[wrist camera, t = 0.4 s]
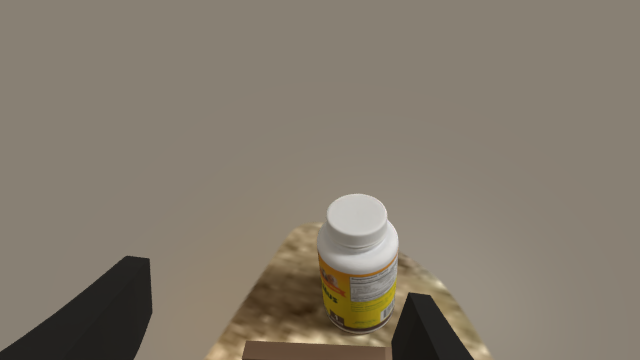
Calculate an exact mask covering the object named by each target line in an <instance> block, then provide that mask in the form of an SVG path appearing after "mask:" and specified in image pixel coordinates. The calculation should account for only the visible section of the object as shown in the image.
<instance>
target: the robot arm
mask: <svg viewBox="0 0 640 360" xmlns="http://www.w3.org/2000/svg"><path fill="white" fill-rule="evenodd" d="M151 315H152V295H151V277H150V259H149V258H141V257H133V256H126V257H124V258H123V259H122V260H120V261H119V262H118V263H117V264H115V265H114V266H113V267H112V268H111V269H110V270H108V271H107V272H106V273H105V274H103V275H102V276H101V277H100V278H99V279H97V280H96V281H95V282H94V283H93V284H91V285H90V286H89V287H88V288H86V289H85V290H84V291H83V292H82V293H80V294H79V295H78V296H77V297H75V298H74V299H73V300H71V301H70V302H69V303H68V304H66V305H65V306H64V307H63V308H61V309H60V310H59V311H57V312H56V313H55V314H53V315H52V316H51V317H49V318H48V319H46V320H45V321H44V322H42V323H41V324H40V325H38V326H37V327H35V328H34V329H33V330H31V331H30V332H28V333H27V334H26V335H24V336H23V337H22V338H20V339H19V340H17V341H16V342H14V343H13V344H11V345H10V346H8V347H7V348H5V349H4V350H2V351H1V352H0V360H133V359H134V358H135V356H136V354H137V351H138V349H139V347H140V344H141V342H142V339H143V337H144V334H145V332H146V329H147V326H148V323H149V320H150V318H151ZM391 344H392V360H474V359H473V358H472V356H471V355H470V353H469V352H468V351H467V349H466V348H465V346H464V345H463V344H462V342H461V341H460V339H459V338H458V336H457V335H456V333H455V332H454V330H453V329H452V327H451V326H450V324H449V323H448V321H447V320H446V318H445V317H444V315H443V314H442V312H441V311H440V309H439V308H438V306H437V305H436V303H435V302H434V300H433V299H432V297H431V296H430V295H425V294H418V293H410V292H409V293H408V296H407V299H406V301H405V304H404V307H403V310H402V313H401V316H400V318H399V321H398V324H397V327H396V330H395V333H394V336H393V338H392V341H391Z"/></svg>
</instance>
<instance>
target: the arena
mask: <svg viewBox="0 0 640 360" xmlns="http://www.w3.org/2000/svg"><path fill="white" fill-rule="evenodd" d="M242 360H392V347H371V346H350V345H328V344H307V343H286V342H264V341H246V344H245V348H244V352H243V356H242Z"/></svg>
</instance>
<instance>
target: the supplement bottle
mask: <svg viewBox="0 0 640 360" xmlns="http://www.w3.org/2000/svg"><path fill="white" fill-rule="evenodd" d="M326 219H327V221H326V222H325V223H324V224H323V225H322V227H321V229H320V231H319V233H318V237H317V249H318V257H319V266H320V274H321V282H322V291H323V300H324V306H325V310H326V313H327V315H328V317H329V318H330V320H331V321H332V322H333V323H334V324H335V325H336V326H338V327H339V328H340V329H342V330H344V331H347V332H350V333H355V334H365V333H370V332H373V331H376V330H378V329H379V328H381V327H382V326H384V325H385V324H386V323H387V322H388V320H389V319H390V317H391V315H392V313H393V310H394V304H395V292H396V276H397V260H398V235H397V232H396V230H395V228H394V227H393V225H392V224H391V223H390V222H389V221H388V220H387V211H386V208H385V207H384V205H383V204H382V203H381V202H380V201H379V200H377V199H376V198H374V197H371V196H368V195H364V194H350V195H345V196H342V197H340V198H338V199H337V200H335V201H334V202H333V203H332V204H331V205H330V206H329V208H328V210H327V214H326Z"/></svg>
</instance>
